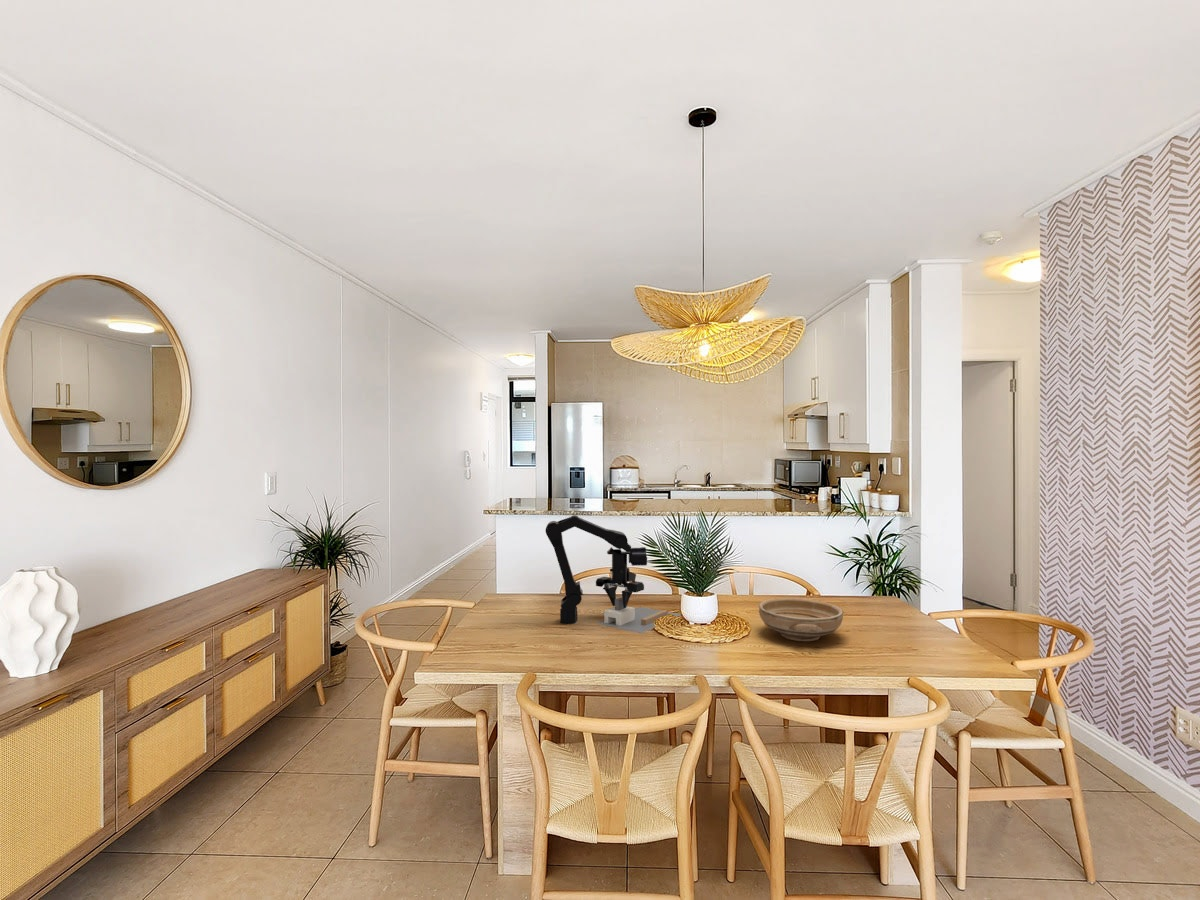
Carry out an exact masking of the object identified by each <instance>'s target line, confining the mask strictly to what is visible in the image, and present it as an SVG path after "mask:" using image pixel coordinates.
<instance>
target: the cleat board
mask: <svg viewBox="0 0 1200 900" xmlns="http://www.w3.org/2000/svg"><path fill="white" fill-rule="evenodd" d="M668 614H672V615H674V616H679V617H682V616H681V613H676V612H672V611H671V612H669V611H668V610H665V609H663V610H660V609H654V608H653V609H652V608H648V607H641V606H638V607H636V608H635V620H633V621H630V622H628V623H625V624H623V625H620V626H619V625H616V620H615V621H613V622H610V623H604V620H603V621H600V622H597V623H596V625H599V626H605V627H609V628H614V629H619V630H624V631H629V632H634V633H638V634H644V633H645V632H648V631H650V630H652V629H655V628H656V627H655V625H654V621H655V620H656V619H658V618H660V617H663V616H666V615H668Z"/></svg>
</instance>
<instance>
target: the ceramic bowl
mask: <svg viewBox="0 0 1200 900" xmlns="http://www.w3.org/2000/svg"><path fill="white" fill-rule="evenodd" d="M758 614H759V616H760V619H761V621H762V622H763V623H764V624H765V626H767V627H768V628H770V629H771V630H773V631H776V632H778V633H780V636H781V637H783V638H785V639H787V640H791V641H795V642H815V641H817V640H819V639H820V637H823V636H827V635H829V634H832V633H834V632H835V631H837V630H838V629H839V628H840V626H841V625H842V622H843V619H844V610H843V609H842V608H841V607H840V606H837V605H835V604H833V603H829V602H825V601H821V600H816V599H809V598H800V597H780V598H771V599H766V600H762V601H761V602H759V603H758Z"/></svg>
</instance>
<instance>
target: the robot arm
mask: <svg viewBox="0 0 1200 900" xmlns="http://www.w3.org/2000/svg"><path fill="white" fill-rule="evenodd" d="M573 528H577V529H579V530H581V531H584V532H586V533H589V534H590V535H593V536H595V537H598V538H600V539H603V540H604V541H605V542H607V543H608V544H609V545H611V547H609V549H608V550H607V551H606V554H607V555H611V568H609V572H611V577H609V576H601V577H598V578H596V580H595V586H596V587H600V588H602V587H603V588H602V590H603V591H605V593H606V595H607V596H608V598H609V600H610V603H611V605H612V606H613V607H615V599H617V595H616V593H617V589H618V587H620V588H624V590H622V591H621V597H622V599H623V607H624V608H626V607H628V604H629V601H630V598H631V596H632V594H633V593H639V592H641V591H645V584H644V583H643V582H642V581H637V580H636V577H637V574H636V573H633V572H631V571H630V568H629V567H628V564H630V565H631V566H637V567H639V566H645V567H646V566H648V557H647V548H646V547H645V546H641V547H632V546H631V544H629V542H628V538H627V536H626V534H625V533H624V532H622V531H618V530H615V529H609V528H605V527H602V526H600V525H599V524H596V523H593V522H591V521H588V520H586V519H583V518H582V517H579V516H578V515H575V514H573V515H571V516H569V517H566V518H564V519H560V520H558V521H556V520H552V521H549V522H548V523H547V524H546V527H545V534H546V536H547V538H548V540H549V542H550V544H551V545H552V547H553V549H554V552H555V556H556V559H557V562H558V566H559V568H560V572H561V575H562V579H563V582H564V590H565V591H564V592H565V596H564V597H563V598H562V599H561V600H560V609H559V613H560V615H559V622H560V624H562V625H573V624H576V623H577V621H578V605H579V604H580V603H581V602H582V598H583V597H582V596H583V595H584V594H583V589H582V588H581V581H576V580H575V577H574V575H573V572H572V569H571V565H570V562H569V559H568V554H567V552H566V549H565V545H564V541H563V539H564V538H563V533H564V532H566V531H568V530H570V529H573ZM613 547H614V548H616V549H614V548H613Z"/></svg>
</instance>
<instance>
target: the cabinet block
mask: <svg viewBox="0 0 1200 900" xmlns="http://www.w3.org/2000/svg"><path fill="white" fill-rule="evenodd" d="M635 609H636V608H635V607H634V606H633V607H632V606H627V607H626V608H624V607H623V599H622V596H621V597H618V598H617V597H616V599H615V606H613V607H610V608H608V609H605V610H604V611H603V613H604V614H603V615H604V617H603V618H604V619H603V621H604V623H610V622H613V621H615V620H616V625H619V626H620V625H623V624H625V623H628V622H630V621H633V620H635Z"/></svg>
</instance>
